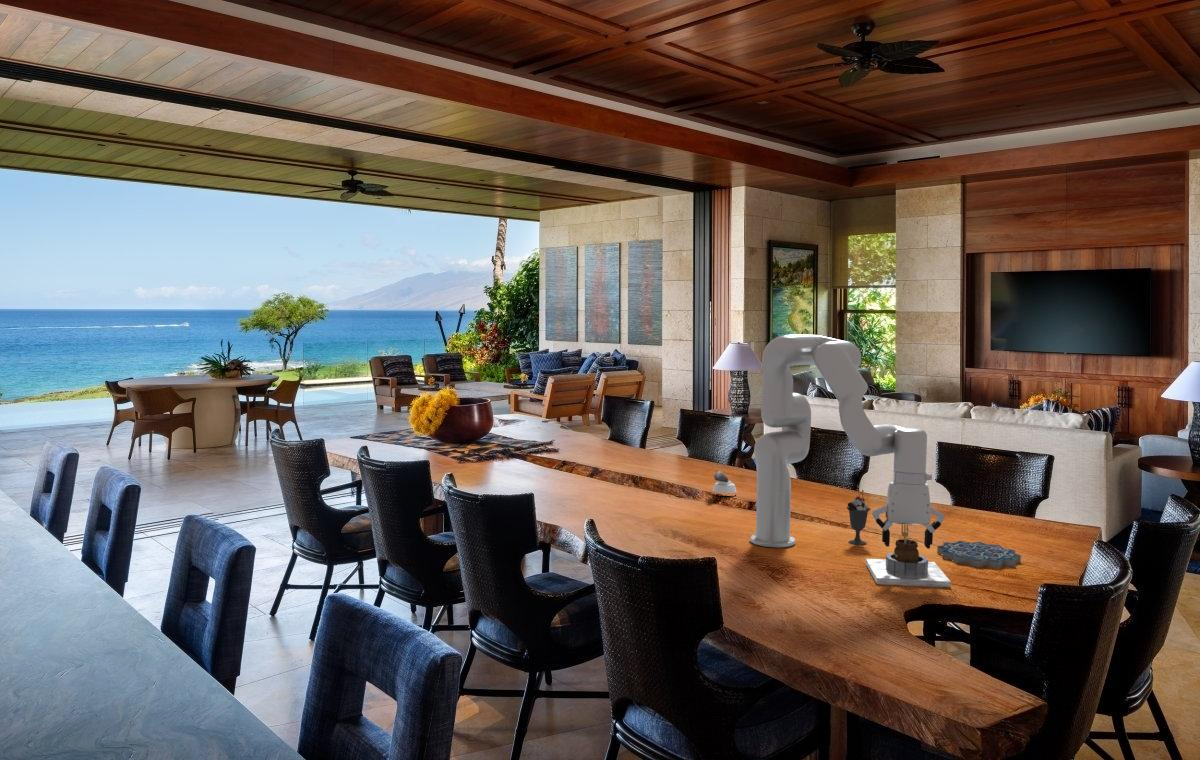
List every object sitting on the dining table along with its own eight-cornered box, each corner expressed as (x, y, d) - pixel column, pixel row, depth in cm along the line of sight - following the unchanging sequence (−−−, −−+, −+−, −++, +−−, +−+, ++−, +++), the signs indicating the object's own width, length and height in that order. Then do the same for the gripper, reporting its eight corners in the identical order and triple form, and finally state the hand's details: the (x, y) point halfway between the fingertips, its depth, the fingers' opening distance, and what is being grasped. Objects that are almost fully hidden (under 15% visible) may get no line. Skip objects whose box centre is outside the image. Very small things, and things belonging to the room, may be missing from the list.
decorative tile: (951, 545, 243) (951, 537, 243) (1027, 557, 230) (1027, 549, 230) (928, 560, 227) (928, 551, 227) (1008, 574, 215) (1008, 565, 214)
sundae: (869, 540, 245) (870, 489, 244) (869, 546, 239) (871, 494, 238) (845, 539, 247) (846, 488, 246) (845, 544, 241) (847, 492, 240)
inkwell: (739, 493, 313) (739, 466, 312) (730, 503, 296) (731, 474, 295) (714, 491, 316) (714, 464, 315) (704, 501, 299) (705, 472, 298)
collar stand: (865, 564, 222) (866, 547, 221) (934, 567, 219) (934, 550, 219) (876, 583, 205) (877, 565, 204) (950, 587, 202) (951, 569, 202)
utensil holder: (920, 568, 213) (922, 521, 212) (915, 574, 208) (917, 526, 207) (895, 564, 216) (897, 518, 215) (890, 570, 211) (892, 523, 210)
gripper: (942, 476, 213) (939, 544, 214) (870, 474, 215) (868, 540, 216) (949, 482, 205) (947, 552, 206) (875, 479, 208) (873, 548, 209)
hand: (906, 546), depth 211 cm, fingers open, 9 cm apart
